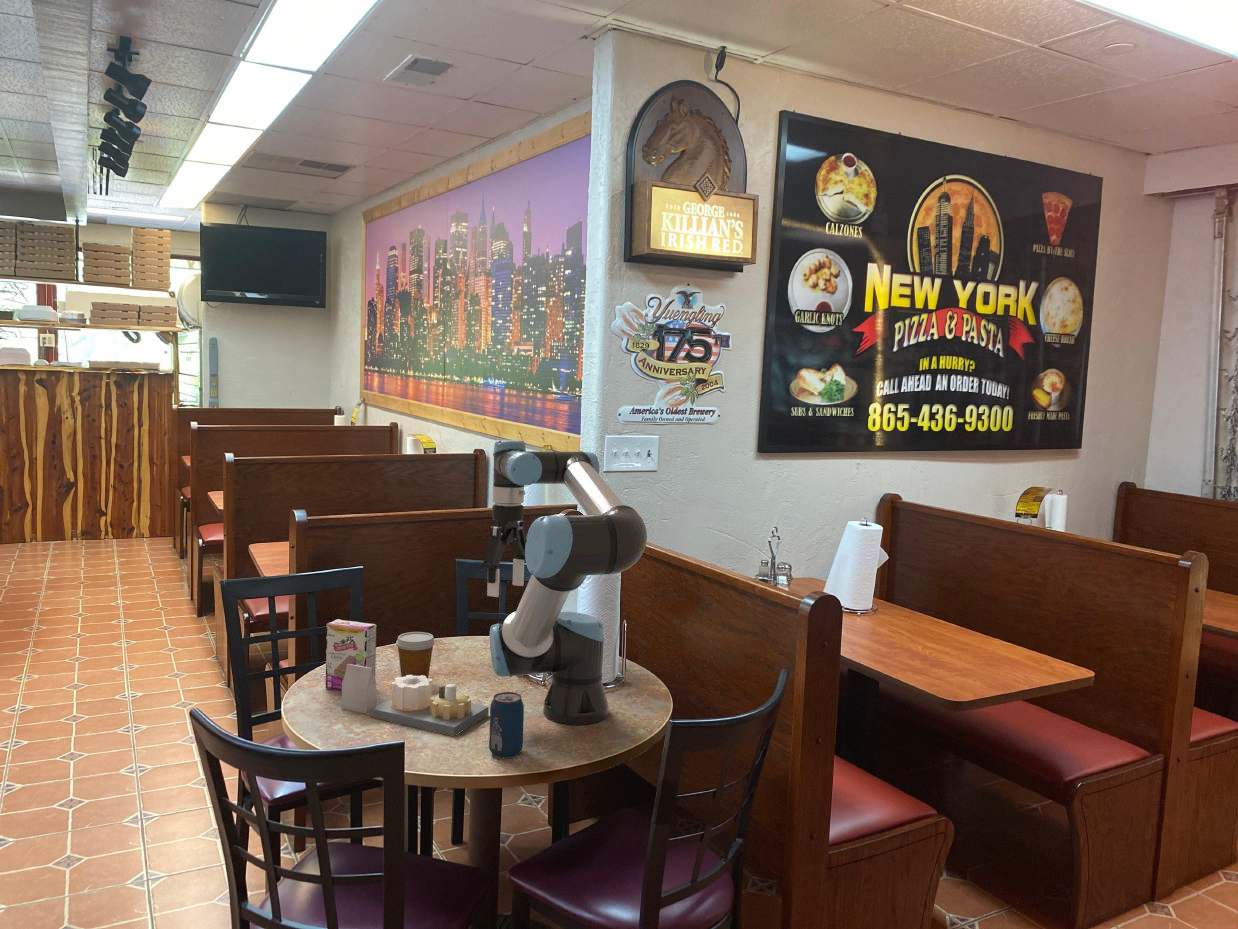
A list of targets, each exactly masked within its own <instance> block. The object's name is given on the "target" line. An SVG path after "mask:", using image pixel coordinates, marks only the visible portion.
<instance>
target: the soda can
mask: <svg viewBox="0 0 1238 929" xmlns="http://www.w3.org/2000/svg"><path fill="white" fill-rule="evenodd" d="M489 709H490V710H489V737H488V740H489V741H488V749H489V751H490V752H491V755H492V756H493V755H494V756H493V757H495V758H498V759H503V758H504V759H507V758H508V759H513V758H515V757H517V756H519V755H520V753H521V751H522V750H523V746H524V744H523V743H524V720H525V719H524V716H525V715H524V714H525V704H524V702H523V699H522V695H521V694H519V693H517V692H513V691H504V692H499V693H498V692H497V693H495V694H494V695H493V699H492V701H491V703H490V705H489ZM508 759H507V760H508Z"/></svg>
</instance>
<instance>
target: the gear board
mask: <svg viewBox="0 0 1238 929" xmlns="http://www.w3.org/2000/svg"><path fill="white" fill-rule="evenodd" d="M406 684H417V677H415V676H410V677H407V683H406ZM489 709H490V705H489V706H488V705H483V704H478V703H473V702H472V698H470V695H469V694H467V693H459V692H458V691H457V684H453V683H449V684H446V685H439V686H438V693H436V694H432V697H431V698H430V705H429V706H427V707H424V706H423V707H420V708H418V709H414V710H411V709H405V708H404V709H398V708H397V706H396V705H392V704H391V698H390V699H388V700H387V701H384V702H382V703H380V704H378V705H376V707H374V708H372V711H370V712H371V713H370V714H371V718H374V719H377V720H382V721H386V722H390V723H395V724H399V725H404V726H408V727H412V728H416V729H421V730H425V729H427V730H426V731H429V730H431V731H430V732H433V731H436V732H435V733H438V732H440V733H439V734H442V733H444V734H443V735H446V734H448V735H447V736H451V735H452V737H455V736H457V735H458V734H460V733H462V732H463V731H465V730H466V728H467V729H468V728H470V727H471V726H473V725H475V724H476V723H478V722H479V721H481V720H483V719H484V718H486V717H488V716H489ZM469 726H470V727H469ZM464 729H465V730H464ZM462 730H463V731H462ZM461 731H462V732H461ZM459 732H460V733H459ZM456 734H457V735H456Z"/></svg>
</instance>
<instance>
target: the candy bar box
mask: <svg viewBox="0 0 1238 929" xmlns="http://www.w3.org/2000/svg"><path fill="white" fill-rule="evenodd" d="M325 631H326V632H325V633H326V636H325V639H326V642H325V653H326V654H325V689H327V690H328V689H329V690H335V691H340V692H342V682H343V679H344V675H345V672H346V668H347V664H352V665H357V666H363V667H369V668H373V673H374V677H375V678H376V660H377V659H376V655H377V653H376V652H377V624H375V623H369V622H362V621H361V622H359V621H353V620H346V619H345V620H344V619H339V618H338V619H335V620H332V621H331V622H327V623H326V630H325Z"/></svg>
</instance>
